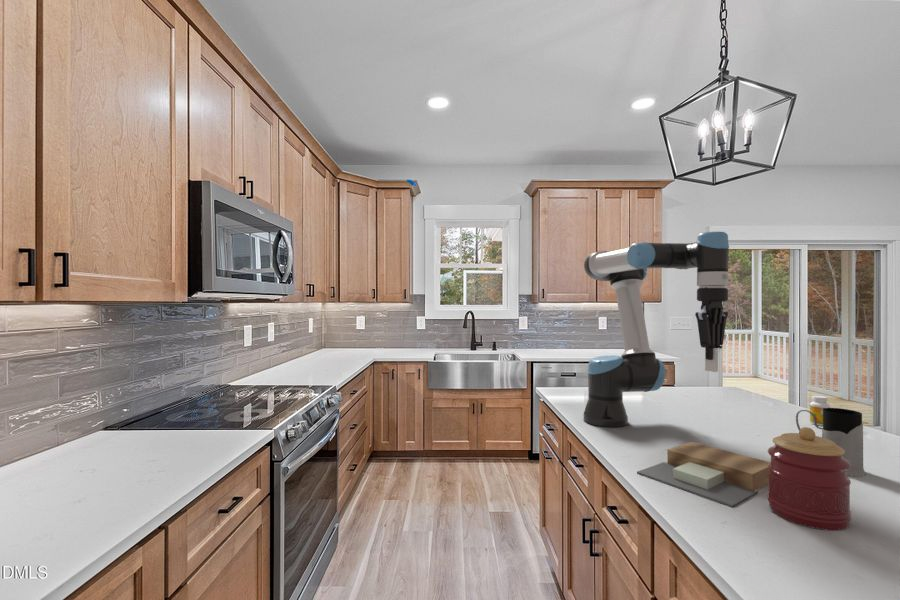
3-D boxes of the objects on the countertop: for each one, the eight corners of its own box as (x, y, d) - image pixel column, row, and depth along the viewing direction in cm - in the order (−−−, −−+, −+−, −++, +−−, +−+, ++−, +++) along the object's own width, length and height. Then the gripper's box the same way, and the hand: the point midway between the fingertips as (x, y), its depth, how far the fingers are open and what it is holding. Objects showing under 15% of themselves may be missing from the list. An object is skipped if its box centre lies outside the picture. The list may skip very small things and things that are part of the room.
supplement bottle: (806, 421, 157) (806, 394, 157) (822, 422, 157) (822, 395, 157) (816, 426, 152) (816, 398, 152) (833, 426, 151) (833, 398, 151)
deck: (667, 464, 116) (667, 449, 116) (691, 455, 122) (691, 441, 122) (752, 491, 99) (752, 474, 99) (775, 480, 106) (775, 463, 106)
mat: (636, 473, 110) (636, 471, 110) (663, 463, 117) (663, 462, 117) (732, 507, 92) (732, 505, 92) (757, 493, 98) (757, 491, 98)
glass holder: (859, 479, 106) (858, 417, 106) (789, 461, 118) (789, 405, 118) (871, 471, 111) (870, 412, 111) (803, 455, 123) (802, 401, 123)
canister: (827, 538, 80) (826, 440, 80) (753, 507, 92) (753, 423, 92) (865, 523, 85) (865, 432, 85) (791, 496, 97) (790, 416, 97)
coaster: (672, 477, 106) (672, 468, 106) (690, 470, 111) (690, 461, 111) (707, 489, 100) (707, 479, 100) (724, 481, 104) (724, 472, 104)
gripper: (713, 287, 117) (712, 375, 117) (738, 287, 123) (737, 370, 124) (685, 287, 123) (685, 371, 123) (711, 287, 130) (710, 367, 130)
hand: (711, 370), depth 123 cm, fingers closed
